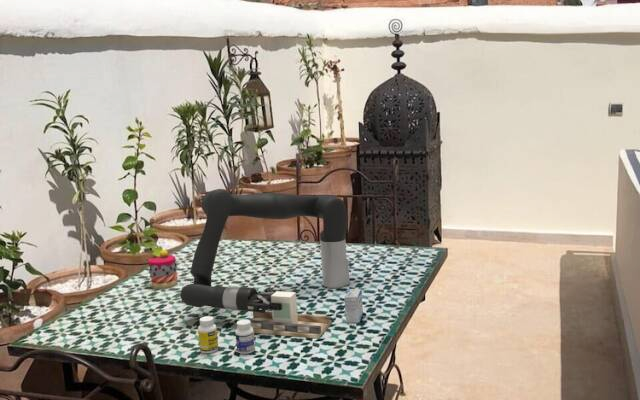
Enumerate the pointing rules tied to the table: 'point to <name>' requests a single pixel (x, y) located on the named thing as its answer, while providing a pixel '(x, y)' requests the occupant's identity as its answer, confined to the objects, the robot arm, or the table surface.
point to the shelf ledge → (291, 325)
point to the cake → (162, 269)
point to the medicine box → (353, 306)
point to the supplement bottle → (207, 335)
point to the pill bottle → (244, 337)
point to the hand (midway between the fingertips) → (287, 302)
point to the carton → (285, 307)
